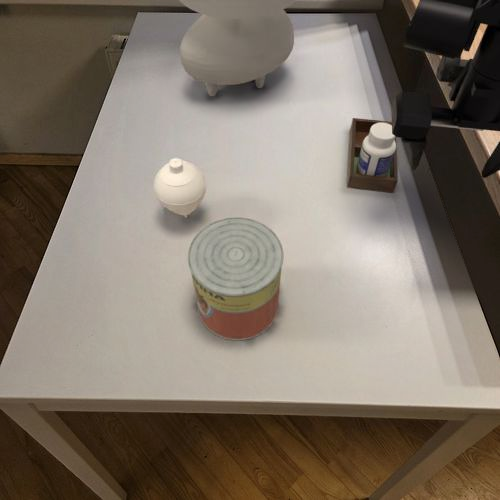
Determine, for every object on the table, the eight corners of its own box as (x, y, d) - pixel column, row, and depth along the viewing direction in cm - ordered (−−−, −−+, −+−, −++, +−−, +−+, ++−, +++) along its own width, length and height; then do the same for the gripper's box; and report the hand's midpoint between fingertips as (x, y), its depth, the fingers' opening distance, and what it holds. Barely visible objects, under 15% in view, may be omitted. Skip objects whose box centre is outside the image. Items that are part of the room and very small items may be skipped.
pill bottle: (389, 165, 78) (403, 123, 71) (384, 186, 75) (398, 145, 68) (359, 158, 79) (369, 116, 72) (353, 178, 76) (363, 137, 69)
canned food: (186, 285, 65) (175, 234, 55) (257, 259, 67) (258, 206, 58) (215, 353, 59) (208, 310, 49) (292, 321, 61) (300, 274, 52)
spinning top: (200, 241, 69) (191, 187, 60) (154, 229, 71) (138, 175, 61) (216, 205, 74) (211, 149, 64) (173, 195, 75) (161, 138, 65)
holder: (391, 134, 84) (395, 122, 81) (393, 193, 75) (398, 180, 73) (349, 130, 84) (352, 117, 82) (346, 187, 76) (349, 175, 73)
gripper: (572, 34, 52) (509, 139, 65) (407, 21, 54) (378, 126, 67) (599, 92, 46) (524, 196, 58) (411, 75, 48) (378, 180, 60)
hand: (448, 171), depth 61 cm, fingers open, 9 cm apart
